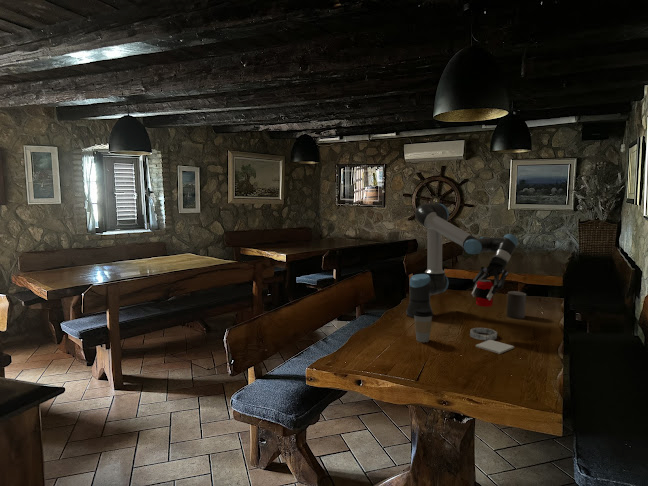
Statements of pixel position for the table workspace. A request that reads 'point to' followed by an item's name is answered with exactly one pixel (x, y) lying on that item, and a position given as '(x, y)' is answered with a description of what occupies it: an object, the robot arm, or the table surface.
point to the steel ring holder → (483, 337)
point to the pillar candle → (516, 304)
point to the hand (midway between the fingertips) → (480, 297)
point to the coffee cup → (422, 324)
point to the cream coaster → (494, 346)
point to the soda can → (483, 293)
